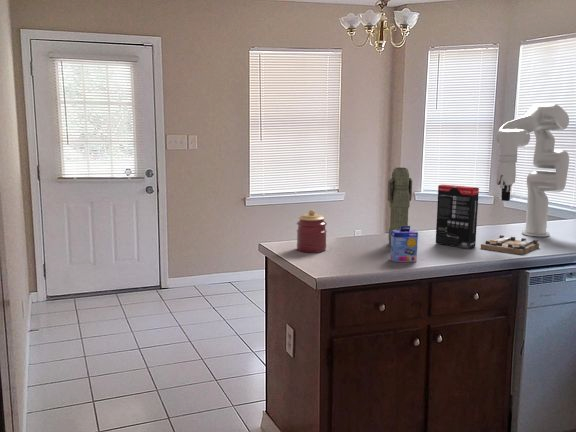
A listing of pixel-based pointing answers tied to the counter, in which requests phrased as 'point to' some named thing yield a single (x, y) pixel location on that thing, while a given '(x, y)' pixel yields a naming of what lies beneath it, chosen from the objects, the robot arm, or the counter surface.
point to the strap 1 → (499, 240)
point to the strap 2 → (522, 243)
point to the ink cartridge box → (404, 245)
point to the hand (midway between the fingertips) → (505, 200)
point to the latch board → (510, 246)
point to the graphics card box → (457, 216)
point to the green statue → (399, 199)
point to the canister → (311, 233)
